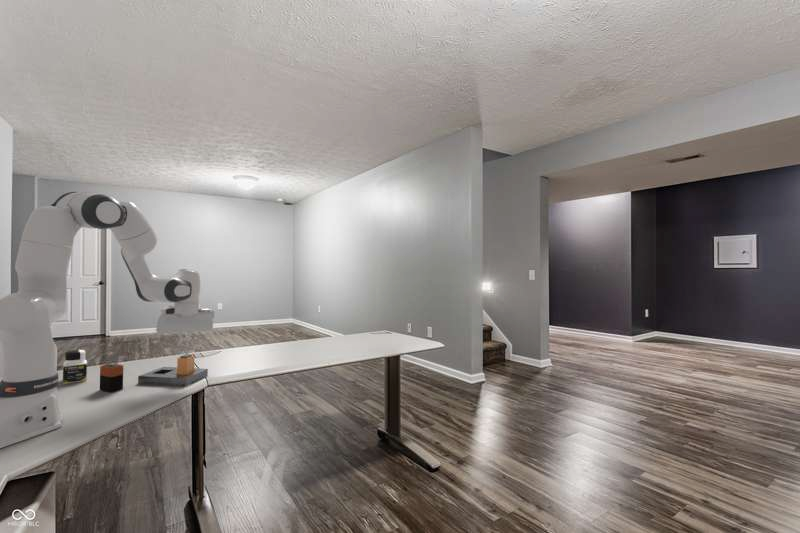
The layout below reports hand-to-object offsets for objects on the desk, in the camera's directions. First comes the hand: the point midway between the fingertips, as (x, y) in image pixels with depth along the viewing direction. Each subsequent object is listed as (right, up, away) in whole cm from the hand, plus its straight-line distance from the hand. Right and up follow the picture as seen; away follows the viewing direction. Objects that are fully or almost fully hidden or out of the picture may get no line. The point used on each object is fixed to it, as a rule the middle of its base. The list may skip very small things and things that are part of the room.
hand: (184, 342), depth 152 cm
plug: (+1, -15, 0) cm, 15 cm away
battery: (-20, -15, -13) cm, 28 cm away
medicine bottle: (-42, -15, -3) cm, 45 cm away
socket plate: (-4, -15, 0) cm, 16 cm away
